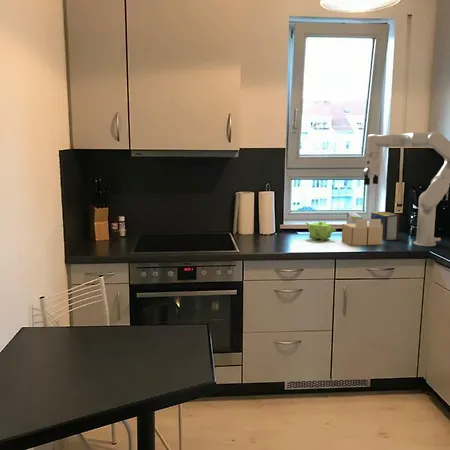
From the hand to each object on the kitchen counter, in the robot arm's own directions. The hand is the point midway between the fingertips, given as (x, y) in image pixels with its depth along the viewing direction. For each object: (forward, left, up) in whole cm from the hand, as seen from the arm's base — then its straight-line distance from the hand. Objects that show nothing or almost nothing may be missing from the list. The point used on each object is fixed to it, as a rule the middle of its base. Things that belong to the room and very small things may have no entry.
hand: (371, 184), depth 318 cm
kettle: (+27, -10, -35) cm, 45 cm away
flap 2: (+2, +12, -34) cm, 36 cm away
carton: (+7, +5, -35) cm, 36 cm away
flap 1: (+12, +12, -34) cm, 38 cm away
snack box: (+4, -11, -35) cm, 37 cm away
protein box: (-15, -7, -35) cm, 39 cm away
